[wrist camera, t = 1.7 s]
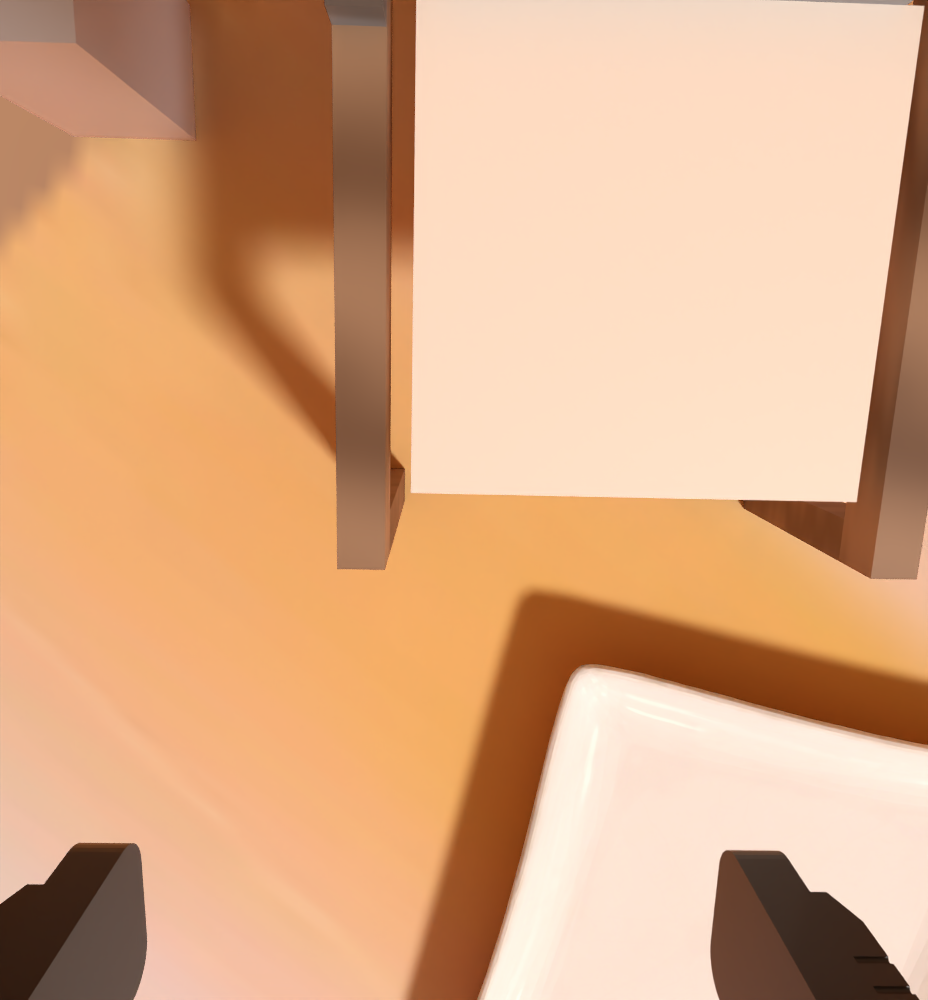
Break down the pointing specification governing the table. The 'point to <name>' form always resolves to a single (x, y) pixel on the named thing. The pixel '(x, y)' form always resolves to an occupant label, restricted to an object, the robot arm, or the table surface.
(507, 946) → the square plate
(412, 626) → the table surface
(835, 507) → the frame
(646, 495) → the trapdoor
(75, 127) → the granite block
